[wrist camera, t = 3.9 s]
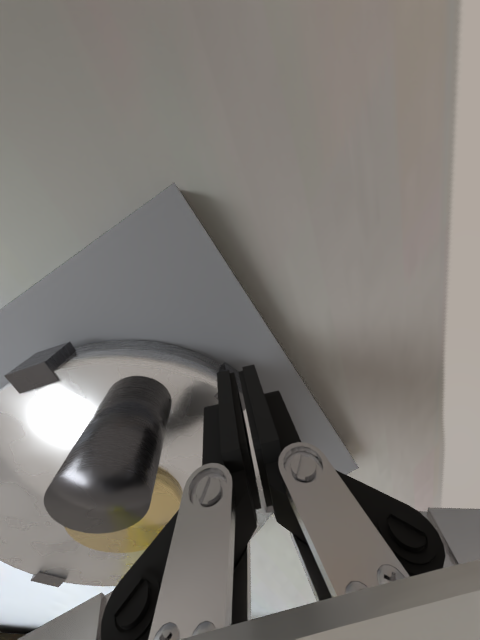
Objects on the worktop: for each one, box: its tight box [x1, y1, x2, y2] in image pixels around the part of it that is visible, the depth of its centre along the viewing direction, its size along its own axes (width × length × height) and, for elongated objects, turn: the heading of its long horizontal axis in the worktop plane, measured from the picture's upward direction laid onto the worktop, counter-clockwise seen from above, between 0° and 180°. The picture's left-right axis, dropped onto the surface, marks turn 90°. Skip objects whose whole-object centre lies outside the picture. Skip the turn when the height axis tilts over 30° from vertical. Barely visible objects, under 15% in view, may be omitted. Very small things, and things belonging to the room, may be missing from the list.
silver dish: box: [0, 340, 274, 587], centre depth 13 cm, size 18×19×7 cm
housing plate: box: [0, 183, 359, 514], centre depth 17 cm, size 24×24×2 cm
